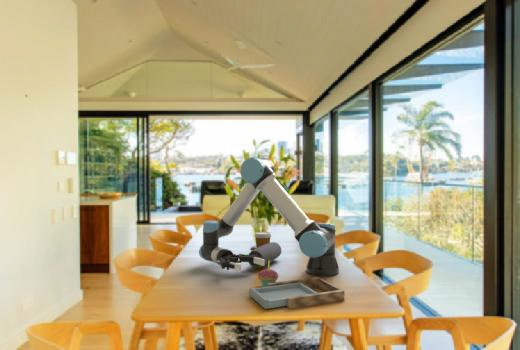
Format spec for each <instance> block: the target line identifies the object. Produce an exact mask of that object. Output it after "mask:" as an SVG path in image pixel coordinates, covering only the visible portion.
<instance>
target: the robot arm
mask: <svg viewBox="0 0 520 350" xmlns="http://www.w3.org/2000/svg"><path fill="white" fill-rule="evenodd" d="M275 170H276V169H275V165H274V163H273V162H272V160H270V159H269V158H266V157H257V156H252V157H251V156H250V157H248V158H246V159H245V160H243V162H242V163H241V166H240V176H241V178H242V180H243V181H244V182H246V184H245V185H244V186H243V188H242V189H241V190H240V192H239V194H238V195H237V196H236V198H235V199H234V201H233V202H232V203H231V205H230V206H229V207H228V208H227V210H226V212H225V213H224V214H223V216H222V217H221V219H220V220H219V221H217V220H205V221H204V222H203V225H202V226H203V227H202V245H201V246H200V248H199V250H198V254H199V256H200V258H201V259H202V260H203V259H204V260H205V261H208V262H212V263H214V264H217V265H219V266H220V267H221V269H223V270H225V269H226V270H227V271H230V270H233V271H237V272H241V271H242V264H241V263H249V262H254V263H255V264H259V265H262V266H265V259H261V258H258V256H256V255H249V254H243V253H238V254H236V253H233V251H232V250H230V249H227V248H224V247H220V246H219V245H220V244H219V242H220V241H219V240H220V238H223V237H227V236H229V235H231V234H232V233H233V231H234V227H235V225H236V224H237V223H238V221H239V219H240V218H241V217H242V215H243V214H244V213H245V212H246V210H247V209H248V208H249V206H250V205H251V204H252V203H253V201H254V199H255V198H256V197H257V196H258V194H259V193H260V192H261V193H263V195H264V197H265V198H266V199H267V200H268V201H269V202H270V204H272V206H273V207H274V208H275V210H276V211H277V212H278V213H279V215H280V216H281V217H282V218H283V219H284V221H285V222H286V223H287V225H289V227H290V228H291V229H292V231H293V233H294V238H295V240H296V241H297V242H298V244H299V245H298V247H299V249H300V251H301V252H302V254H304V255H305V256H306V257H308V261H307V264H306V267H305V269H306V270H305V271H306V273H308V274H311V275H314V276H318V277H319V276H321V277H322V276H323V277H329V276H335V275H338V274H339V273H340V268H339V267H340V266H339V263H338V261H337V257H336V232H337V231H336V225H335V224H334V223H328V222H326V223H325V222H317V221H316V220H314V219H310V218H309V217H308V216H307V215H306V214H305V213H304V211H303V210H302V209H301V208H300V207H299V205H298V204H297V202H295V200H294V199H293V198H292V197H291V196H290V194H289V193H288V192H287V191H286V190H285V189H284V187H283V186H282V184H280V183H279V180H278V179H277V174H276V172H275ZM265 267H266V266H265Z"/></svg>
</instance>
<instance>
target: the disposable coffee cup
mask: <svg viewBox="0 0 520 350" xmlns="http://www.w3.org/2000/svg"><path fill="white" fill-rule="evenodd" d="M271 233H272V232H269V231H256V232H255V233H254V238H255V247H256V248H258V247H260V246H262V245H265V244H268V243H271V238H272V234H271Z"/></svg>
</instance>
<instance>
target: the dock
mask: <svg viewBox="0 0 520 350" xmlns="http://www.w3.org/2000/svg"><path fill="white" fill-rule="evenodd" d="M293 283H302V284H303V285H305V286H307V287H308V288H310V289H312V288H319V289H321V290H322V292H317V293H315V294H308V295H301V296H294V297H287V306H286V308H287V309H296V308H303V307H310V306H316V305H321V304H322V305H323V304H328V303H334V302H341V301H345V290H344V289H343V288H341V287H339V286H337V285H336V284H333V283H331V282H329V281H327V280H325V279H323V278H322V277H319V276H316V277H307V278H301V279H293V280H283V281H276V282H275V283H267V287H269V286H277V285H285V284H293ZM323 291H324V292H323Z"/></svg>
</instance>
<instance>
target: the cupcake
mask: <svg viewBox="0 0 520 350" xmlns="http://www.w3.org/2000/svg"><path fill="white" fill-rule="evenodd" d="M270 265H271V264H270V261H268V265H267V268H265V269H264V268H263V269H261V271H258V273H257V279H258V280H259V281H260V283H261V287H267V283H275V282H277V280H278V279H279V274H278V273H277V271H275V270H274V269H271V268H270Z"/></svg>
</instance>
